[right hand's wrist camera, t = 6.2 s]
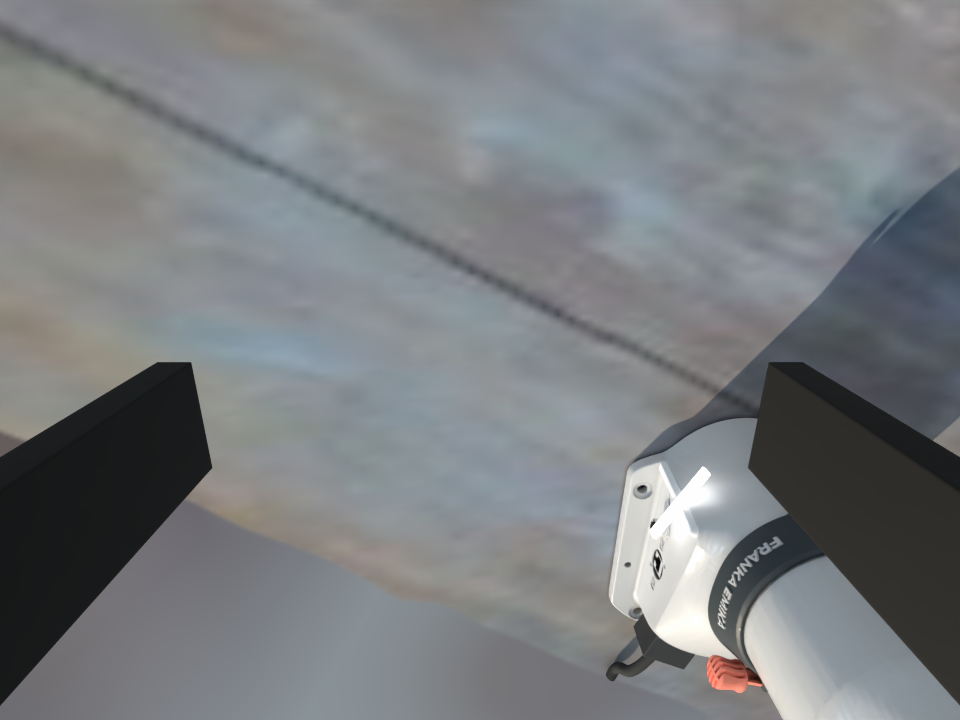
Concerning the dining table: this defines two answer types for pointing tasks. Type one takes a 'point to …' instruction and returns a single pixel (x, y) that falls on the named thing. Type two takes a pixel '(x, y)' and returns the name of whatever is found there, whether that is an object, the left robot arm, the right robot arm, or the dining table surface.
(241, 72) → the dining table surface
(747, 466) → the left robot arm
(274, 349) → the dining table surface
